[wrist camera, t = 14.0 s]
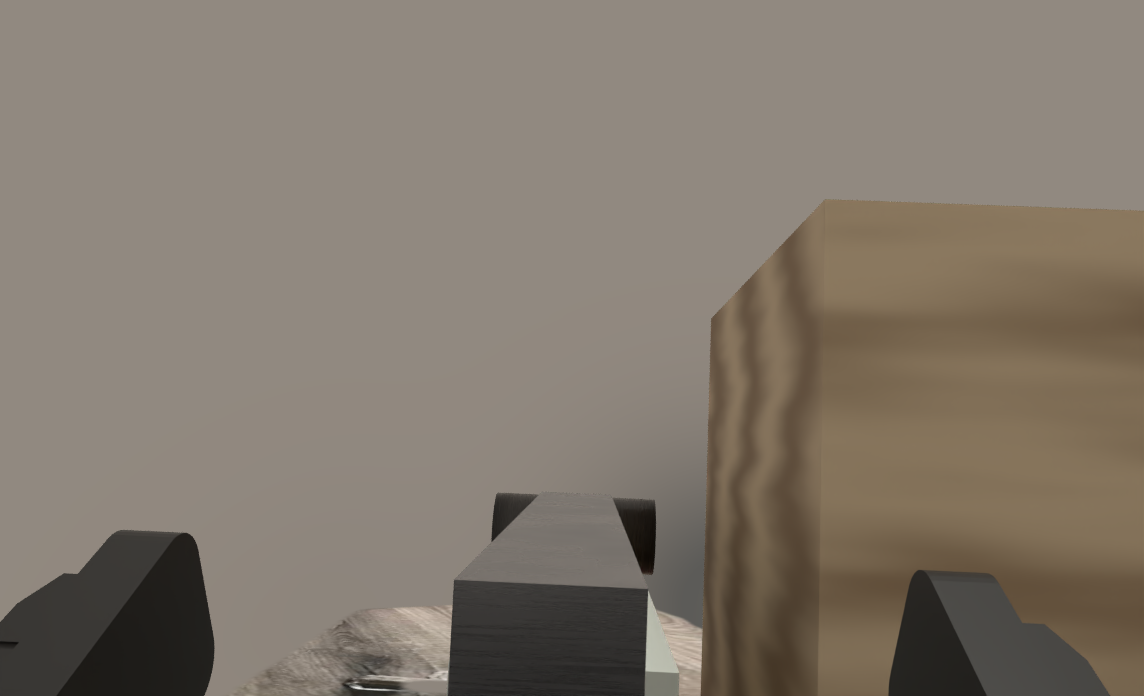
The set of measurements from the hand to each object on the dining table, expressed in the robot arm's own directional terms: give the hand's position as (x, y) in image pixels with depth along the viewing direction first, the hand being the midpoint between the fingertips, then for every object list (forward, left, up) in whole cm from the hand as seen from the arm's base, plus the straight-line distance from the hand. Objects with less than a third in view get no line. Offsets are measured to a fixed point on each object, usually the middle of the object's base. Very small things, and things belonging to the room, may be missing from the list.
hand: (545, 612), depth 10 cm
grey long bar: (-5, -14, -3) cm, 15 cm away
